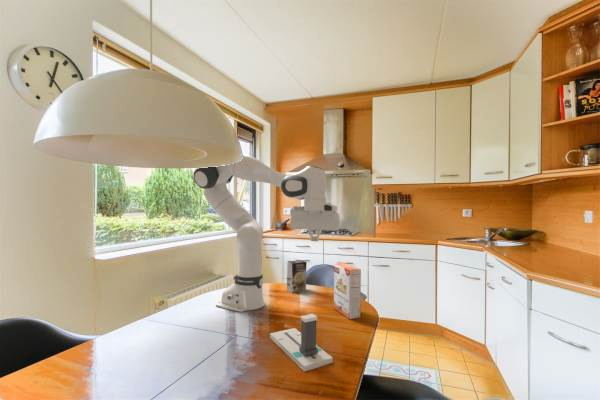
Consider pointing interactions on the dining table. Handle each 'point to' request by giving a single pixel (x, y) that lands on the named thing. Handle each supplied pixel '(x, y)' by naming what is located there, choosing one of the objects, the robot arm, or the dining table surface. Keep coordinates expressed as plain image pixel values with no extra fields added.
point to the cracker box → (347, 290)
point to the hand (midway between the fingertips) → (314, 241)
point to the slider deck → (290, 345)
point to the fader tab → (308, 335)
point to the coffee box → (296, 276)
